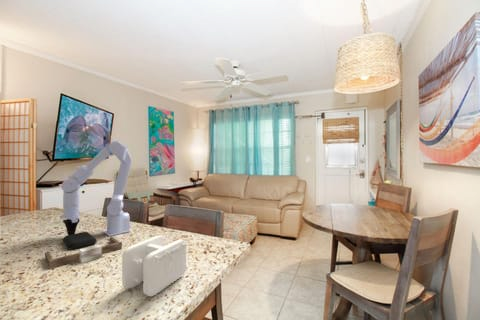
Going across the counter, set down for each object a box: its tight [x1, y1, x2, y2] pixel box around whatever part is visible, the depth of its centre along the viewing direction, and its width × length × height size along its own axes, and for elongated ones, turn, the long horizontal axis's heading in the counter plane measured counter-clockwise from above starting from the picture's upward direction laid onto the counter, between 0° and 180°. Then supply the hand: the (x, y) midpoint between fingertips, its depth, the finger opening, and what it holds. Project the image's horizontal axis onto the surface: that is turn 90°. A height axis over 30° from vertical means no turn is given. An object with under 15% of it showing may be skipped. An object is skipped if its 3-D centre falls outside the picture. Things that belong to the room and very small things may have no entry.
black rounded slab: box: [62, 231, 98, 250], centre depth 94 cm, size 11×3×15 cm
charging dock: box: [44, 236, 123, 270], centre depth 83 cm, size 22×14×4 cm, turn 138°
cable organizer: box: [121, 235, 187, 297], centre depth 65 cm, size 15×11×12 cm
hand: (71, 235), depth 100 cm, fingers closed
